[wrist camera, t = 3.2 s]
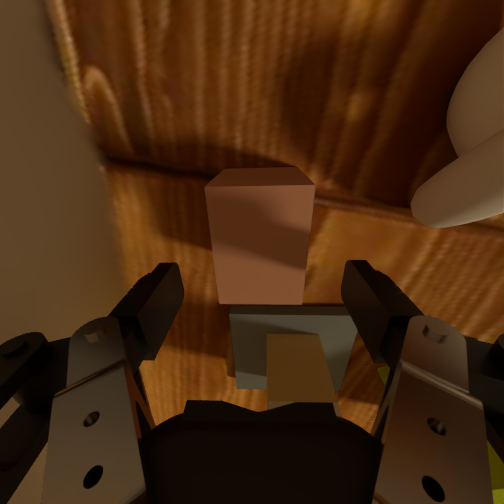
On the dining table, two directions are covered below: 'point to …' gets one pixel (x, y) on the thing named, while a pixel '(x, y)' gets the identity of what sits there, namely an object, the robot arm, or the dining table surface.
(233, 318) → the baseplate
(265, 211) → the brick terracotta
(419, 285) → the dining table surface
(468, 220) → the white knot
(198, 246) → the dining table surface
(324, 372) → the brick mustard
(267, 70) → the dining table surface
